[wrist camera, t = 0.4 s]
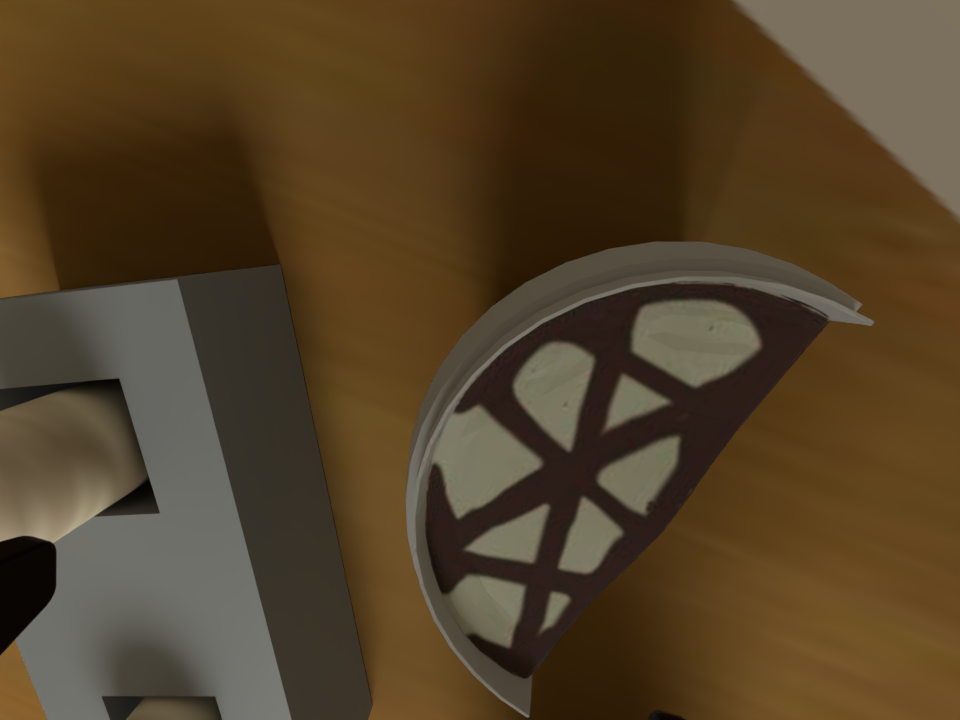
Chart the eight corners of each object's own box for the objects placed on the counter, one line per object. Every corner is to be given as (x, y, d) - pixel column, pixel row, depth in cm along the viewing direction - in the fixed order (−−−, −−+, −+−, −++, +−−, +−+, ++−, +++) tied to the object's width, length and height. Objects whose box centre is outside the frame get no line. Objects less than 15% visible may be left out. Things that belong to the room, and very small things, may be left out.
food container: (565, 168, 18) (600, 100, 8) (707, 260, 18) (898, 296, 9) (401, 434, 21) (292, 603, 12) (524, 507, 22) (515, 733, 12)
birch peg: (196, 471, 19) (45, 580, 13) (100, 477, 19) (-87, 584, 13) (168, 367, 18) (-10, 434, 12) (67, 376, 18) (-150, 446, 12)
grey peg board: (372, 706, 25) (324, 847, 20) (190, 705, 27) (95, 837, 21) (280, 264, 20) (177, 279, 14) (58, 290, 21) (-118, 313, 16)
